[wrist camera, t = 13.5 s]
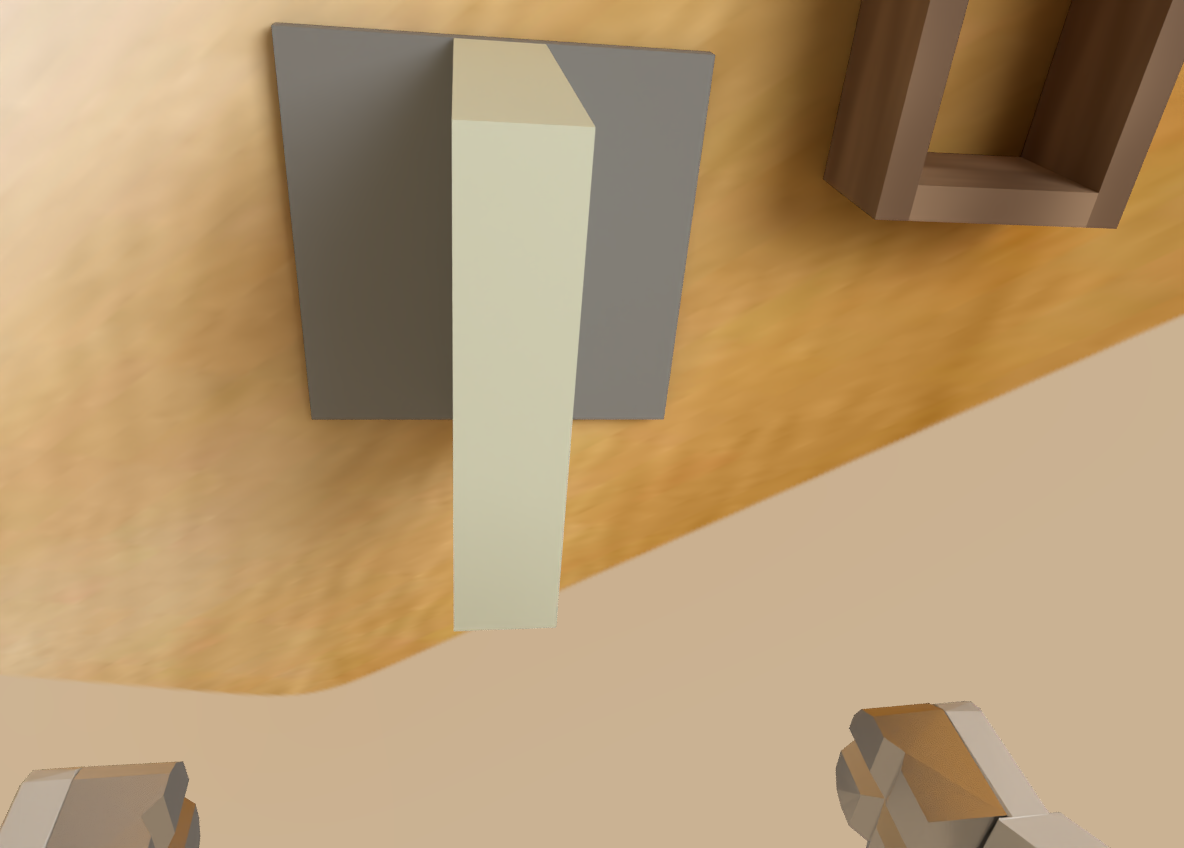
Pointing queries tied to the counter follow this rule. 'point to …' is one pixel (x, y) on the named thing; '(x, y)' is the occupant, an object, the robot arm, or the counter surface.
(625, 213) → the rubber mat
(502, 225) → the cream rectangular block
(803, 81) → the counter surface
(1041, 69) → the counter surface
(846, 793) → the robot arm
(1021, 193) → the walnut box
